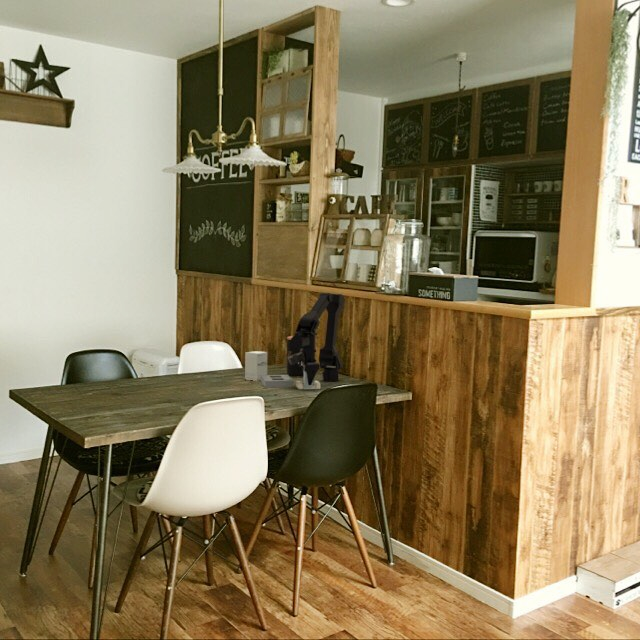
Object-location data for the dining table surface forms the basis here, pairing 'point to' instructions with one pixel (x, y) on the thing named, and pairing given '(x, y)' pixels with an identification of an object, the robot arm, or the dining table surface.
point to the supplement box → (255, 365)
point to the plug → (307, 381)
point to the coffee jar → (295, 369)
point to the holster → (300, 386)
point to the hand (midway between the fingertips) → (308, 383)
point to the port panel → (276, 381)
